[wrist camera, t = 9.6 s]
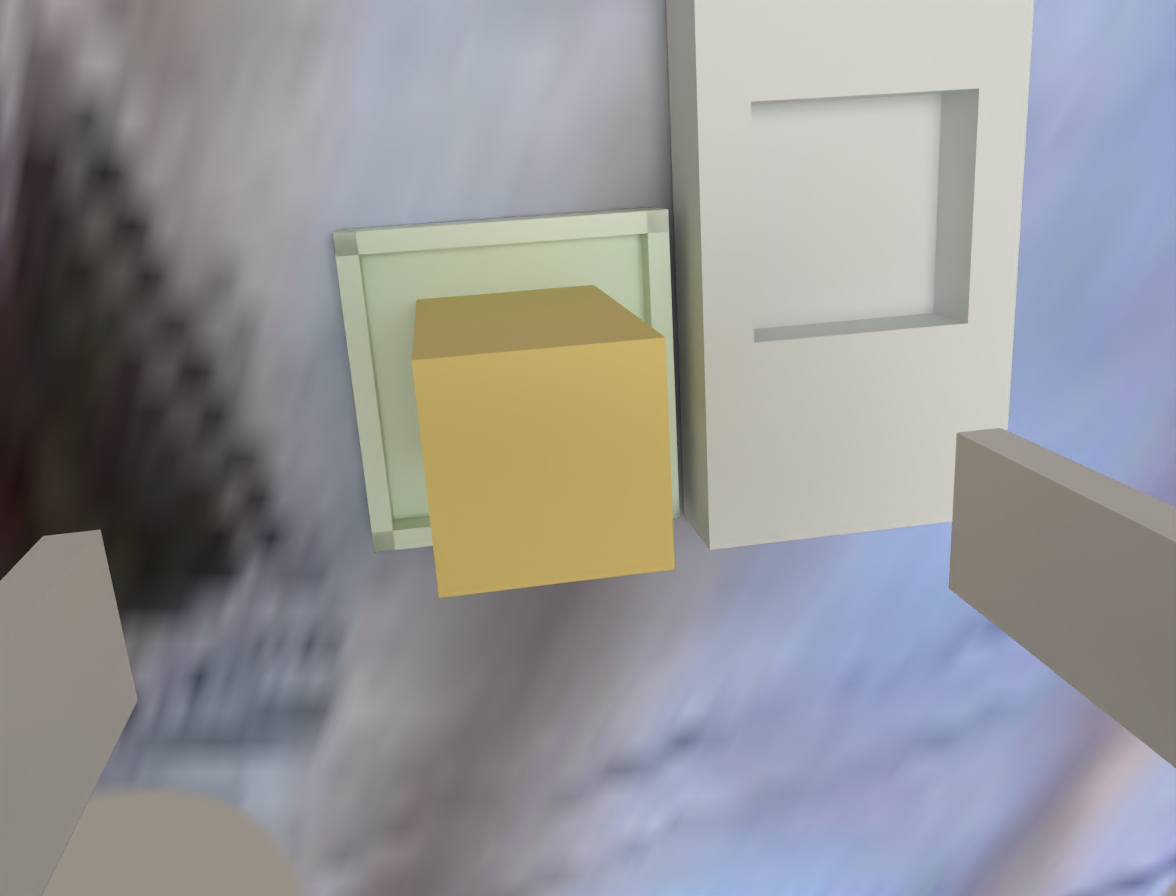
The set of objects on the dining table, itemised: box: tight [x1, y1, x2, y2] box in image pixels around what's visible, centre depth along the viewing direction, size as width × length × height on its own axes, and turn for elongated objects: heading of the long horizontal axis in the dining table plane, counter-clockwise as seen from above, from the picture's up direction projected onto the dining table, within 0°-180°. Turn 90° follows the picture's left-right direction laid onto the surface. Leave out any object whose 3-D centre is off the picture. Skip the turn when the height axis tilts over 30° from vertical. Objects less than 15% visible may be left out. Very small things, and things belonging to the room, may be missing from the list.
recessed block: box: [666, 0, 1034, 550], centre depth 28 cm, size 9×18×3 cm, turn 3°
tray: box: [332, 207, 680, 552], centre depth 29 cm, size 9×9×2 cm
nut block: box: [411, 285, 675, 598], centre depth 24 cm, size 5×5×9 cm
